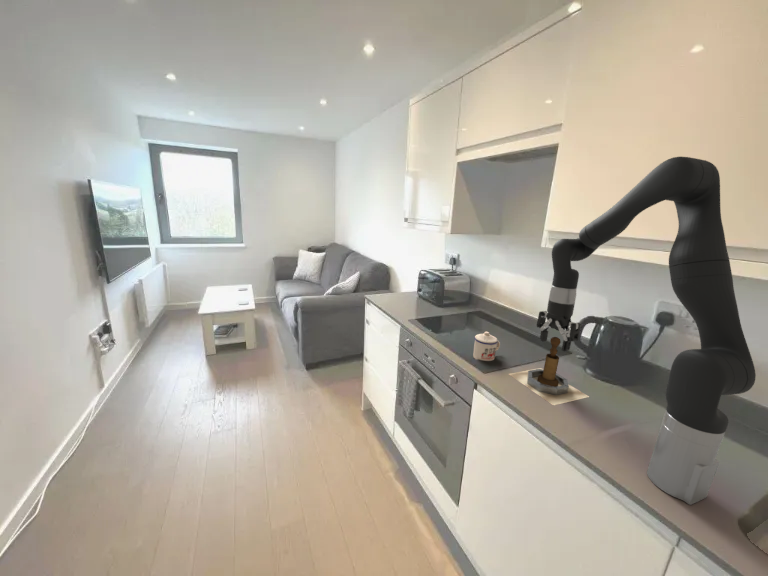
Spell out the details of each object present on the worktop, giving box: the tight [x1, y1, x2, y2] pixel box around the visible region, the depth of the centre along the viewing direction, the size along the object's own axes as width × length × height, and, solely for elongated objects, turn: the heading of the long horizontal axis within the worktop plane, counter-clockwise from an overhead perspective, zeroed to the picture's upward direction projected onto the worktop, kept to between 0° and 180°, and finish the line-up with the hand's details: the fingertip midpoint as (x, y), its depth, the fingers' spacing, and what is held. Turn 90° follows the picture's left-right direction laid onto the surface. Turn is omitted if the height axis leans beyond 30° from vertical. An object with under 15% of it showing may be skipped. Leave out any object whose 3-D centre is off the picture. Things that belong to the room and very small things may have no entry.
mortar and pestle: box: [537, 336, 561, 387], centre depth 106 cm, size 7×6×18 cm
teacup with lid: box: [472, 331, 501, 362], centre depth 127 cm, size 12×9×12 cm
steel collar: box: [527, 368, 569, 396], centre depth 108 cm, size 12×12×2 cm
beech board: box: [508, 367, 590, 406], centre depth 108 cm, size 20×16×1 cm
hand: (553, 345), depth 104 cm, fingers open, 8 cm apart
